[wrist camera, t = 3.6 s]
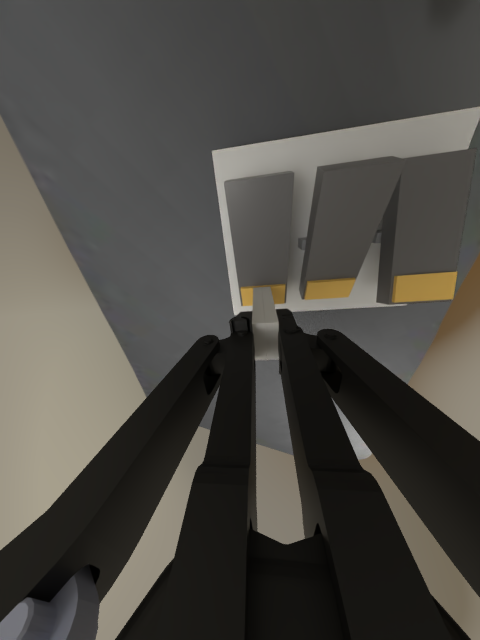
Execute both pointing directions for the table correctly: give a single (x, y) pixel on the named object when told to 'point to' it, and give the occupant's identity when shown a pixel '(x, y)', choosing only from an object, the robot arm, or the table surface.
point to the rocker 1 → (261, 232)
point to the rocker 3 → (425, 229)
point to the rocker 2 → (345, 223)
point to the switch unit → (303, 160)
